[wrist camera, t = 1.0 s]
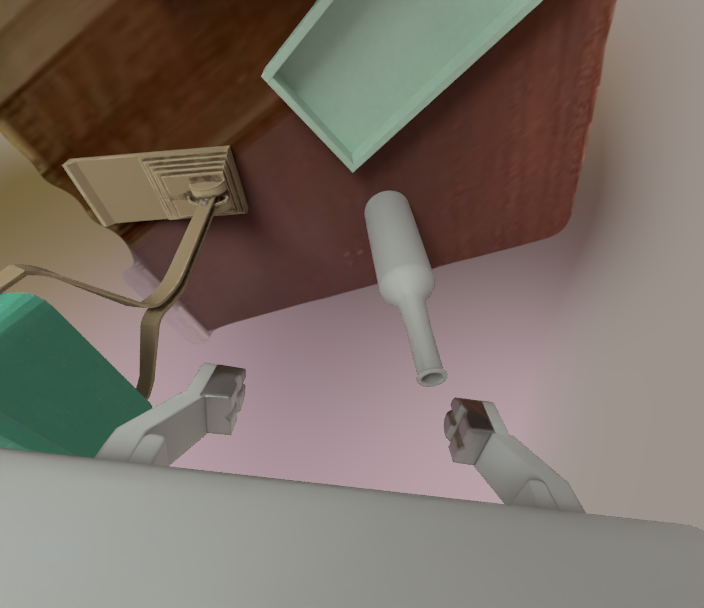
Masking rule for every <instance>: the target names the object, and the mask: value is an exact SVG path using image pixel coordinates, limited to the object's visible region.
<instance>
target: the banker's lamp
mask: <svg viewBox="0 0 704 608" xmlns="http://www.w3.org/2000/svg"><path fill="white" fill-rule="evenodd" d="M62 166H63V168H64V169H65V171H66V172H67V174H68V175H69V177H70V178H71V179H72V181H73V182H74V184H75V185H76V187H77V188H78V190H79V191H80V193H81V194H82V196H83V197H84V199H85V200H86V201H87V203H88V204H89V206H90V207H91V209H92V210H93V212H94V213H95V215H96V216H97V218H98V219H99V221H100V222H101V224H102V225H103V226H104V227H105V226H109V225H112V224H115V223H124V222H136V221H147V220H159V219H169V220H175V219H187V218H192V219H191V221H190V224H189V226H188V228H187V230H186V232H185V235H184V237H183V239H182V241H181V243H180V246H179V248H178V250H177V252H176V254H175V257H174V259H173V261H172V263H171V265H170V268H169V270H168V272H167V274H166V276H165V277H164V279H163V281H162V282H161V284H160V285H159V286H158V287H157V289H156V290H155V291H154V292H153V293H152V294H151V295H150V296H149V297H148V298H147V299H145V300H143V301H142V302H138V301H135V300H132V299H129V298H126V297H123V296H120V295H117V294H114V293H111V292H108V291H105V290H102V289H99V288H96V287H93V286H90V285H87V284H85V283H82V282H79V281H75V280H72V279H70V278H67V277H64V276H61V275H59V274H56V273H54V272H51V271H49V270H46V269H42V268H39V267H36V266H30V265H24V264H11V265H9V266H8V267H6V268H5V269H3V270H2V271H0V448H8V449H17V450H26V451H35V452H44V453H53V454H61V455H70V456H79V457H88V458H94V457H95V456H96V454H97V453H98V452H99V450H100V449H101V448H102V446H103V445H104V444H105V442H106V441H107V440H108V438H109V437H110V436H111V434H112V433H113V432H114V431H115V429H116V428H118V427H119V426H121V425H123V424H125V423H127V422H128V421H130V420H132V419H134V418H136V417H138V416H139V415H141V414H143V413H145V412H147V411H148V410H150V409H152V405H151V404H150V402H149V401H147V399H148V398H149V397H150V394H151V391H152V387H153V383H154V378H155V367H156V357H157V347H158V337H159V326H160V322H161V319H162V317H163V316H164V314H165V313H166V312H167V311H168V310H169V309H170V308H171V307H172V306H173V304H174V303H175V302H176V301H177V300H178V299H179V297H180V296H181V294H182V293H183V292H184V290H185V288H186V286H187V284H188V281H189V279H190V276H191V273H192V271H193V268H194V266H195V263H196V260H197V258H198V255H199V253H200V250H201V247H202V245H203V242H204V239H205V237H206V234H207V232H208V229H209V226H210V224H211V221H212V219H213V216H221V215H233V214H245V213H247V212H248V208H249V207H248V204H247V201H246V197H245V194H244V191H243V188H242V184H241V181H240V178H239V174H238V171H237V168H236V165H235V161H234V158H233V155H232V152H231V148H230V145H229V146H217V147H206V148H194V149H182V150H170V151H158V152H146V153H134V154H122V155H110V156H98V157H87V158H75V159H69V160H68V161H66V162H65V163H64V164H63V165H62ZM27 275H39V276H47V277H51V278H55V279H59V280H61V281H64V282H66V283H69V284H71V285H74V286H76V287H79V288H82V289H84V290H87V291H89V292H92V293H95V294H97V295H100V296H102V297H105V298H108V299H110V300H113V301H115V302H118V303H120V304H123V305H126V306H132V307H142V308H148V309H147V311H146V312H145V314H144V316H143V318H142V321H141V334H140V335H141V336H140V377H139V380H138V385H137V388H136V389H135V388H134V387H133V386H132V385H131V384H130V383H129V382H128V381H127V380H126V379H125V378H124V377H123V376H122V375H121V374H120V373H119V372H118V371H117V370H116V369H115V368H114V367H113V366H112V365H111V364H110V363H109V362H108V361H107V360H106V359H105V358H104V357H103V356H102V355H101V354H100V353H99V352H98V351H97V350H96V349H95V348H94V347H93V346H92V345H91V344H90V343H89V342H88V341H87V340H86V339H85V338H84V337H83V336H82V335H81V334H80V333H79V332H78V331H77V330H76V329H75V328H74V327H73V326H72V325H71V324H70V323H69V322H68V321H67V320H66V319H65V318H64V317H63V316H62V315H61V314H60V313H59V312H58V311H57V310H56V309H55V308H54V307H53V306H52V305H50V304H49V303H48V302H47V301H45V300H44V299H42V298H40V297H38V296H36V295H32V294H28V293H4V294H1V293H3V292H4V291H6V290H7V289H8V288H10V287H11V286H13V285H14V284H15V283H17V282H18V281H19V280H21V279H22V278H24V277H25V276H27Z"/></svg>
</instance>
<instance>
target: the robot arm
mask: <svg viewBox="0 0 704 608" xmlns="http://www.w3.org/2000/svg"><path fill="white" fill-rule="evenodd" d="M245 377H246V370H245V369H243V368H236V367H231V366H224V365H216V364H210V363H204V364H203V365H201V367H200V369H199V370H198V372H197V374H196V375H195V377H194V378H193V380H192V382H191V383H190V385H189V387H188V389H187V390H186V392H185V393H179V394H177V395H175V396H174V397H172V398H170V399H168V400H166V401H165V402H163V403H161V404H159V405H157V406H156V407H154V408H152V409H150V410H148V411H147V412H145V413H143V414H141V415H139V416H138V417H136V418H134V419H132V420H130V421H128V422H127V423H125V424H123V425H121V426H119V427H118V428H116V429H115V431H114V432H113V433H112V434H111V436H110V437H109V438H108V440H107V441H106V442H105V444H104V445H103V446H102V448H101V449H100V450H99V452H98V453H97V454H96V456H95V457H94V458H88V457H79V456H70V455H61V454H53V453H44V452H35V451H26V450H17V449H8V448H0V608H704V531H703V530H701V529H699V528H697V527H693V526H689V525H684V524H677V523H666V522H657V521H648V520H639V519H631V518H622V517H612V516H603V515H595V514H586V512H585V511H584V509H583V507H582V505H581V504H580V502H579V500H578V499H577V497H576V495H575V493H574V492H573V490H572V488H571V486H570V485H569V483H568V482H567V481H566V480H565V479H563V478H562V477H561V476H560V475H559V474H558V473H556V472H555V471H554V470H553V469H552V468H550V467H549V466H548V465H547V464H546V463H545V462H543V461H542V460H541V459H540V458H539V457H538V456H536V455H535V454H534V453H533V452H532V451H530V450H529V449H528V448H527V447H526V446H525V445H523V444H522V443H521V442H520V441H519V440H518V439H516V438H515V437H514V436H511V435H509V433H508V431H507V429H506V427H505V425H504V423H503V421H502V419H501V417H500V415H499V412H498V410H497V408H496V406H495V404H494V403H492V402H488V401H478V400H470V399H462V398H454V399H453V400H452V403H451V407H452V410H451V411H449V412H448V413H447V414H446V417H445V420H444V432H445V436H446V438H447V439H448V440H449V441H450V442H451V443H450V445H449V450H450V453H451V456H452V460H453V462H456V463H463V464H469V465H475V466H474V467H475V468H476V469H477V470H478V472H479V473H480V474H481V475H482V477H483V478H484V479H485V480H486V481H487V483H488V484H489V485H490V486H491V488H492V489H493V490H494V491H495V493H496V494H497V495H498V496H499V498H500V499H501V500H502V501H503V503H504V504H497V503H488V502H479V501H470V500H461V499H452V498H443V497H435V496H426V495H417V494H408V493H400V492H391V491H382V490H373V489H363V488H355V487H346V486H337V485H328V484H319V483H310V482H302V481H293V480H284V479H275V478H266V477H257V476H248V475H239V474H230V473H222V472H213V471H204V470H194V469H186V468H177V467H169V465H170V464H172V463H173V462H174V461H175V460H176V459H178V458H179V457H180V456H181V455H182V454H184V453H185V452H186V451H187V450H188V449H189V448H191V447H192V446H193V445H194V444H195V443H197V442H198V441H199V440H200V439H201V438H203V437H204V436H205V435H206V433H215V434H225V435H231V433H232V431H233V428H234V426H235V423H236V420H237V419H236V418H237V413H238V412H239V411H240V410H241V407H242V404H243V400H244V396H245V385H244V384H243V382H244V380H245Z"/></svg>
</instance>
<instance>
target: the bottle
mask: <svg viewBox="0 0 704 608" xmlns="http://www.w3.org/2000/svg"><path fill="white" fill-rule="evenodd" d="M364 212H365V220H366V226H367V231H368V236H369V241H370V246H371V251H372V256H373V261H374V266H375V271H376V276H377V281H378V286H379V291H380V294H381V296H382V298H383V299H384V300H385V301H387V302H388V303H389V304H390V305H392V306H395V307H397V308H399V310H400V312H401V315H402V319H403V322H404V325H405V328H406V331H407V335H408V339H409V343H410V347H411V351H412V355H413V359H414V363H415V367H416V372H417V382H418V383H419V384H420V385H422V386H426V387H430V386H436V385H439V384H441V383H443V382H444V381H445V380H446V379H447V372H446V371H445V370H444V369H443V367H442V363H441V360H440V356H439V353H438V350H437V346H436V343H435V339H434V336H433V332H432V329H431V325H430V320H429V316H428V311H427V307H426V302H425V301H426V300H427V299H428V298H429V297H430V295H431V293H432V291H433V289H434V285H435V278H434V275H433V272H432V269H431V266H430V263H429V260H428V257H427V255H426V252H425V249H424V246H423V243H422V240H421V237H420V234H419V231H418V228H417V225H416V223H415V220H414V217H413V214H412V211H411V209H410V206H409V203H408V200H407V199H406V197H405V196H404V195H402V194H401V193H399V192H396V191H383V192H380V193H377V194H376V195H374V196H373V197H372V198H371V199H370V200H369V201H368V203H367V204H366V207H365V211H364Z"/></svg>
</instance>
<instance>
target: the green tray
mask: <svg viewBox="0 0 704 608" xmlns="http://www.w3.org/2000/svg"><path fill="white" fill-rule="evenodd" d="M542 1H543V0H317V1H316V2H315V4H314V5H313V6H312V8H311V9H310V10H309V11H308V13H307V14H306V15H305V17H304V18H303V19H302V20H301V22H300V23H299V24H298V26H297V27H296V28H295V29H294V31H293V32H292V33H291V35H290V36H289V37H288V39H287V40H286V41H285V42H284V44H283V45H282V46H281V48H280V49H279V50H278V51H277V53H276V54H275V55H274V57H273V58H272V59H271V60H270V62H269V63H268V64H267V66H266V67H265V69H264V71H263V74H262V76H261V77H262V78H263V79H264V80H265V81H266V82H267V83H268V85H269V86H270V87H271V88H272V89H273V90H274V91H275V92H276V93H277V94H278V95H279V96H280V97H281V98H282V99H283V100H284V101H285V102H286V103H287V104H288V106H289V107H290V108H291V109H292V110H293V111H294V112H295V113H296V114H297V115H298V116H299V117H300V118H301V119H302V120H303V121H304V122H305V123H306V124H307V125H308V126H309V128H310V129H311V130H312V131H313V132H314V133H315V134H316V135H317V136H318V137H319V138H320V139H321V140H322V141H323V142H324V143H325V144H326V145H327V146H328V147H329V148H330V150H331V151H332V152H333V153H334V154H335V155H336V156H337V157H338V158H339V159H340V160H341V161H342V162H343V163H344V164H345V165H346V166H347V167H348V168H349V169H350V170H351V172H352V173H353V172H354V171H355V170H356V169H358V168H359V167H360V166H361V165H362V164H363V163H364V162H365V161H366V160H367V159H369V158H370V157H371V156H372V155H373V154H374V153H375V152H376V151H377V150H379V149H380V148H381V147H382V146H383V145H384V144H385V143H386V142H387V141H388V140H390V139H391V138H392V137H393V136H394V135H395V134H396V133H397V132H398V131H399V130H401V129H402V128H403V127H404V126H405V125H406V124H407V123H408V122H409V121H410V120H412V119H413V118H414V117H415V116H416V115H417V114H418V113H419V112H420V111H422V110H423V109H424V108H425V107H426V106H427V105H428V104H429V103H430V102H431V101H433V100H434V99H435V98H436V97H437V96H438V95H439V94H440V93H441V92H442V91H444V90H445V89H446V88H447V87H448V86H449V85H450V84H451V83H452V82H454V81H455V80H456V79H457V78H458V77H459V76H460V75H461V74H462V73H463V72H465V71H466V70H467V69H468V68H469V67H470V66H471V65H472V64H473V63H474V62H476V61H477V60H478V59H479V58H480V57H481V56H482V55H483V54H484V53H486V52H487V51H488V50H489V49H490V48H491V47H492V46H493V45H494V44H495V43H497V42H498V41H499V40H500V39H501V38H502V37H503V36H504V35H505V34H506V33H508V32H509V31H510V30H511V29H512V28H513V27H514V26H515V25H516V24H518V23H519V22H520V21H521V20H522V19H523V18H524V17H525V16H526V15H527V14H529V13H530V12H531V11H532V10H533V9H534V8H535V7H536V6H537V5H538V4H540V3H541V2H542Z"/></svg>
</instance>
